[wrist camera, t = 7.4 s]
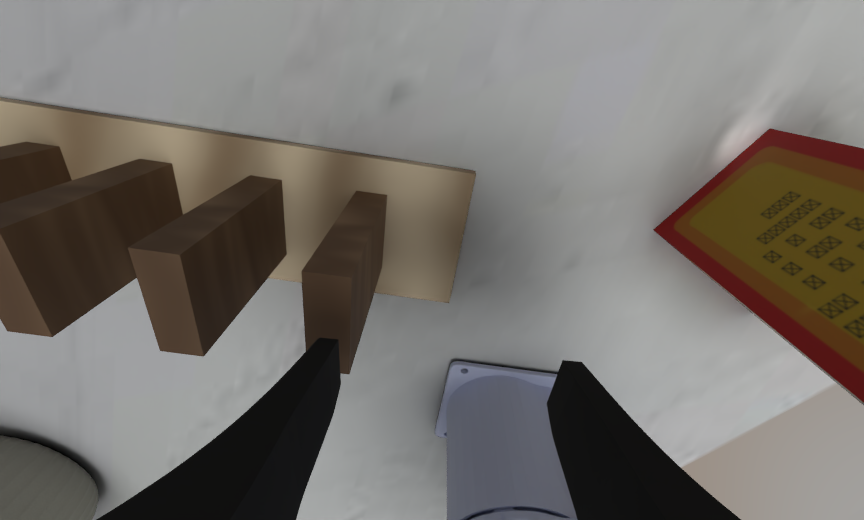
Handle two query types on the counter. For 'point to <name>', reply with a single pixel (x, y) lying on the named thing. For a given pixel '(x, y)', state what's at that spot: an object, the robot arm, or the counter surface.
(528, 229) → the counter surface
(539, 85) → the counter surface
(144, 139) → the light wooden board
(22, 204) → the domino
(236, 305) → the domino
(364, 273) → the domino
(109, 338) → the counter surface
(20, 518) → the canister
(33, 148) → the domino
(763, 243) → the baking soda box
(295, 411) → the robot arm
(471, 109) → the counter surface
